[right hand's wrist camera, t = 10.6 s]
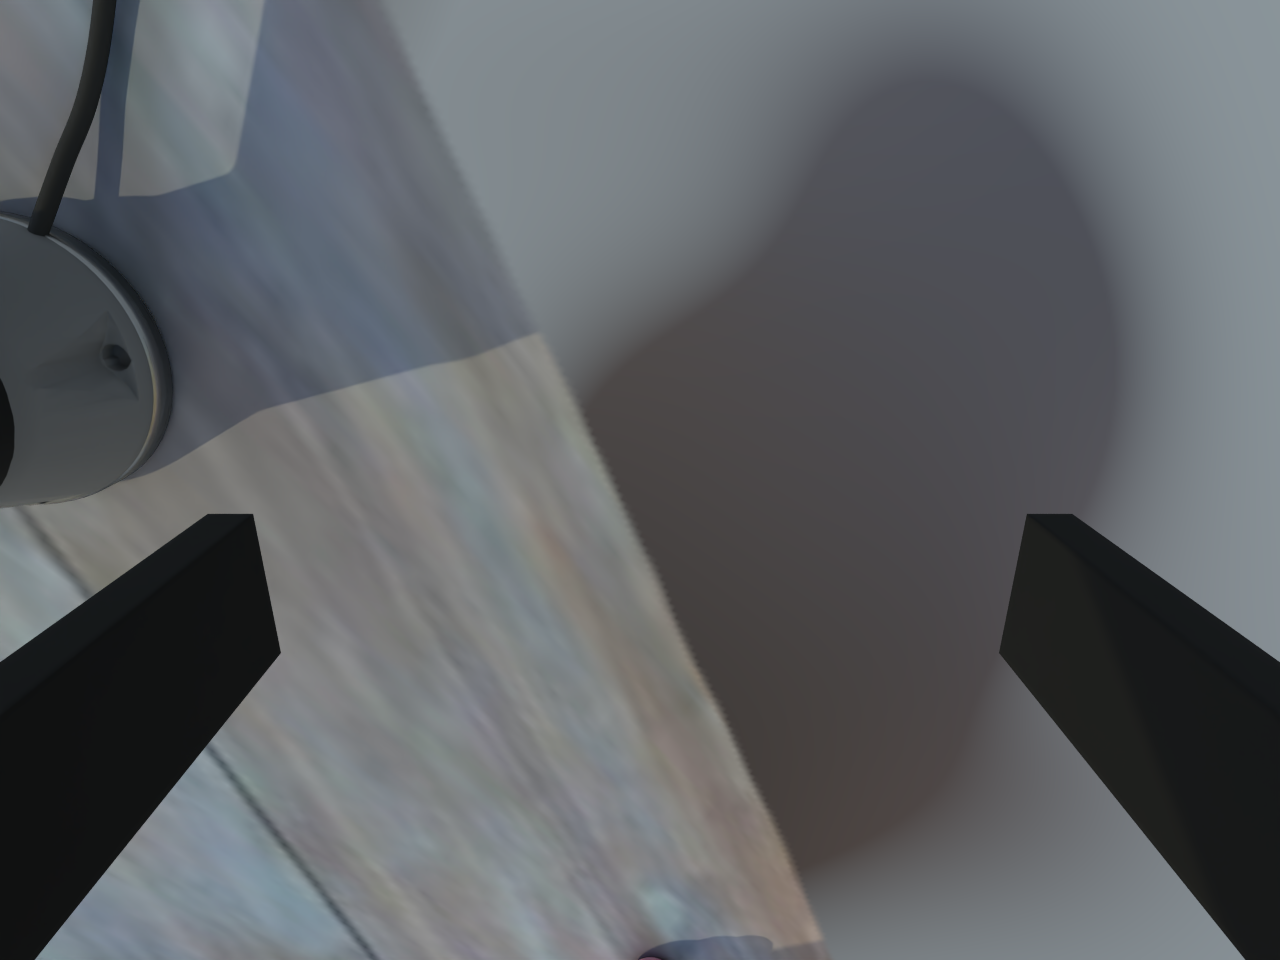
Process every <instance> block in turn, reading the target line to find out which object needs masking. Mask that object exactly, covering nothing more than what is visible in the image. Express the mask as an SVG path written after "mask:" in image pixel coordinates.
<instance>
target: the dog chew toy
mask: <svg viewBox="0 0 1280 960" xmlns="http://www.w3.org/2000/svg"><path fill="white" fill-rule="evenodd" d="M640 960H661V959H659V958H654V957H646V958H642V959H640Z"/></svg>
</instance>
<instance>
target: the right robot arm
mask: <svg viewBox="0 0 1280 960" xmlns="http://www.w3.org/2000/svg"><path fill="white" fill-rule="evenodd" d="M115 7H116V0H93V7H92V16H91V24H90V32H89V39H88V45H87V51H86V57H85V62H84V67H83V72H82V76H81V80H80V84H79V89H78V92H77V96H76V99H75V102H74V105H73V108H72V111H71V114H70V117H69V119H68V122H67V124H66V126H65V129H64V131H63V134H62V136H61V138H60V141H59V143H58V145H57V148H56V150H55V153H54V155H53V158H52V161H51V163H50V166H49V169H48V172H47V174H46V177H45V180H44V183H43V185H42V188H41V191H40V194H39V197H38V200H37V202H36V205H35V208H34V211H33V214H32V217H31V218H29V217H25V216H21V215H17V214H12V213H6V212H0V508H6V507H14V506H21V505H38V504H55V503H61V502H67V501H72V500H76V499H80V498H84V497H87V496H90V495H92V494H95V493H97V492H99V491H101V490H103V489H105V488H107V487H109V486H111V485H113V484H115V483H117V482H118V481H120V480H122V479H124V478H126V477H127V476H129V475H130V474H132V473H133V472H135V471H136V470H137V469H138V468H140V467H141V466H142V465H143V464H144V463H145V462H146V461H147V460H148V459H149V458H150V456H151V455H152V454H153V452H154V451H155V450H156V448H157V447H158V445H159V443H160V441H161V439H162V437H163V435H164V433H165V430H166V428H167V425H168V421H169V417H170V413H171V405H172V376H171V370H170V364H169V359H168V356H167V352H166V348H165V345H164V343H163V340H162V337H161V335H160V332H159V330H158V328H157V326H156V324H155V322H154V320H153V318H152V316H151V315H150V313H149V311H148V309H147V308H146V306H145V305H144V303H143V302H142V300H141V299H140V297H139V296H138V295H137V293H136V292H135V291H134V289H133V288H132V287H131V286H130V284H129V283H128V282H127V281H126V280H125V279H124V278H123V277H122V275H121V274H120V273H119V272H118V271H117V270H116V269H115V268H114V267H113V266H112V265H110V264H109V263H108V262H107V261H106V260H105V259H104V258H103V257H101V256H100V255H99V254H98V253H96V252H95V251H94V250H92V249H91V248H90V247H88V246H87V245H85V244H84V243H82V242H81V241H79V240H78V239H76V238H74V237H73V236H71V235H69V234H67V233H65V232H63V231H62V230H60V229H58V228H55V227H53V226H52V224H53V221H54V219H55V216H56V213H57V210H58V208H59V205H60V202H61V199H62V196H63V194H64V191H65V188H66V185H67V183H68V180H69V177H70V175H71V172H72V169H73V167H74V164H75V162H76V159H77V157H78V154H79V152H80V150H81V147H82V145H83V143H84V140H85V138H86V136H87V133H88V131H89V128H90V126H91V123H92V120H93V118H94V115H95V112H96V108H97V105H98V102H99V98H100V94H101V90H102V86H103V82H104V77H105V73H106V68H107V63H108V57H109V51H110V45H111V38H112V31H113V23H114V15H115ZM280 653H281V651H280V646H279V641H278V636H277V631H276V626H275V621H274V616H273V611H272V606H271V601H270V596H269V591H268V586H267V581H266V576H265V571H264V566H263V561H262V556H261V551H260V546H259V541H258V536H257V531H256V526H255V521H254V516H253V514H207V515H206V516H204V517H203V518H202V519H200V520H199V521H197V522H196V523H195V524H193V525H192V526H190V527H189V528H188V529H186V530H185V531H183V532H182V533H181V534H179V535H178V536H176V537H175V538H174V539H172V540H171V541H169V542H168V543H167V544H165V545H164V546H162V547H161V548H160V549H158V550H157V551H155V552H154V553H153V554H151V555H150V556H148V557H147V558H146V559H144V560H143V561H141V562H140V563H139V564H137V565H136V566H134V567H133V568H132V569H130V570H129V571H127V572H126V573H125V574H123V575H122V576H120V577H119V578H118V579H116V580H115V581H113V582H112V583H111V584H109V585H108V586H106V587H105V588H104V589H102V590H101V591H99V592H98V593H97V594H95V595H94V596H92V597H91V598H90V599H88V600H87V601H85V602H84V603H83V604H81V605H80V606H78V607H77V608H76V609H74V610H73V611H71V612H70V613H69V614H67V615H66V616H64V617H63V618H62V619H60V620H59V621H57V622H56V623H55V624H53V625H52V626H50V627H49V628H47V629H46V630H45V631H43V632H42V633H40V634H39V635H38V636H36V637H35V638H33V639H32V640H31V641H29V642H28V643H26V644H25V645H24V646H22V647H21V648H19V649H18V650H17V651H15V652H14V653H12V654H11V655H10V656H8V657H7V658H5V659H4V660H3V661H1V662H0V960H35V959H36V957H37V956H38V955H39V954H40V952H41V951H42V950H43V949H44V947H45V946H46V945H47V944H48V942H49V941H50V940H51V939H52V937H53V936H54V935H55V934H56V932H57V931H58V930H59V929H60V927H61V926H62V925H63V924H64V922H65V921H66V920H67V919H68V917H69V916H70V915H71V914H72V912H73V911H74V910H75V909H76V907H77V906H78V905H79V904H80V903H81V901H82V900H83V899H84V898H85V896H86V895H87V894H88V893H89V891H90V890H91V889H92V888H93V886H94V885H95V884H96V883H97V881H98V880H99V879H100V878H101V876H102V875H103V874H104V873H105V871H106V870H107V869H108V868H109V866H110V865H111V864H112V863H113V861H114V860H115V859H116V858H117V856H118V855H119V854H120V853H121V851H122V850H123V849H124V848H125V846H126V845H127V844H128V843H129V841H130V840H131V839H132V838H133V836H134V835H135V834H136V833H137V831H138V830H139V829H140V828H141V827H142V825H143V824H144V823H145V822H146V820H147V819H148V818H149V817H150V815H151V814H152V813H153V812H154V810H155V809H156V808H157V807H158V805H159V804H160V803H161V802H162V800H163V799H164V798H165V797H166V795H167V794H168V793H169V792H170V790H171V789H172V788H173V787H174V785H175V784H176V783H177V782H178V780H179V779H180V778H181V777H182V775H183V774H184V773H185V772H186V770H187V769H188V768H189V767H190V765H191V764H192V763H193V762H194V760H195V759H196V758H197V757H198V755H199V754H200V753H201V752H202V751H203V749H204V748H205V747H206V746H207V744H208V743H209V742H210V741H211V739H212V738H213V737H214V736H215V734H216V733H217V732H218V731H219V729H220V728H221V727H222V726H223V724H224V723H225V722H226V721H227V719H228V718H229V717H230V716H231V714H232V713H233V712H234V711H235V709H236V708H237V707H238V706H239V704H240V703H241V702H242V701H243V699H244V698H245V697H246V696H247V694H248V693H249V692H250V691H251V689H252V688H253V687H254V686H255V684H256V683H257V682H258V681H259V679H260V678H261V677H262V676H263V675H264V673H265V672H266V671H267V670H268V668H269V667H270V666H271V665H272V663H273V662H274V661H275V660H276V658H277V657H278V656H279V655H280ZM999 653H1000V655H1001V656H1002V657H1003V658H1004V660H1005V661H1006V662H1007V663H1008V665H1009V666H1010V667H1011V668H1012V670H1013V671H1014V672H1015V673H1016V675H1017V676H1018V677H1019V678H1020V679H1021V681H1022V682H1023V683H1024V684H1025V686H1026V687H1027V688H1028V689H1029V691H1030V692H1031V693H1032V694H1033V696H1034V697H1035V698H1036V699H1037V701H1038V702H1039V703H1040V704H1041V706H1042V707H1043V708H1044V709H1045V711H1046V712H1047V713H1048V714H1049V716H1050V717H1051V718H1052V719H1053V721H1054V722H1055V723H1056V724H1057V725H1058V727H1059V728H1060V729H1061V731H1062V732H1063V733H1064V734H1065V736H1066V737H1067V738H1068V739H1069V741H1070V742H1071V743H1072V744H1073V745H1074V747H1075V748H1076V749H1077V751H1078V752H1079V753H1080V754H1081V755H1082V757H1083V758H1084V759H1085V760H1086V762H1087V763H1088V764H1089V765H1090V767H1091V768H1092V769H1093V770H1094V772H1095V773H1096V774H1097V775H1098V777H1099V778H1100V779H1101V780H1102V782H1103V783H1104V784H1105V785H1106V787H1107V788H1108V789H1109V790H1110V792H1111V793H1112V794H1113V795H1114V797H1115V798H1116V799H1117V800H1118V802H1119V803H1120V804H1121V805H1122V807H1123V808H1124V809H1125V810H1126V812H1127V813H1128V814H1129V815H1130V817H1131V818H1132V819H1133V820H1134V821H1135V823H1136V824H1137V825H1138V827H1139V828H1140V829H1141V830H1142V831H1143V833H1144V834H1145V835H1146V836H1147V838H1148V839H1149V840H1150V841H1151V843H1152V844H1153V845H1154V846H1155V848H1156V849H1157V850H1158V851H1159V853H1160V854H1161V855H1162V856H1163V858H1164V859H1165V860H1166V861H1167V863H1168V864H1169V865H1170V866H1171V868H1172V869H1173V870H1174V871H1175V873H1176V874H1177V875H1178V876H1179V878H1180V879H1181V880H1182V881H1183V883H1184V884H1185V885H1186V886H1187V888H1188V889H1189V890H1190V891H1191V893H1192V894H1193V895H1194V896H1195V897H1196V899H1197V900H1198V901H1199V903H1200V904H1201V905H1202V906H1203V907H1204V909H1205V910H1206V911H1207V912H1208V914H1209V915H1210V916H1211V917H1212V919H1213V920H1214V921H1215V922H1216V924H1217V925H1218V926H1219V927H1220V929H1221V930H1222V931H1223V932H1224V934H1225V935H1226V936H1227V937H1228V939H1229V940H1230V941H1231V942H1232V944H1233V945H1234V946H1235V947H1236V949H1237V950H1238V951H1239V952H1240V954H1241V955H1242V956H1243V957H1244V959H1245V960H1280V662H1279V661H1277V660H1276V659H1275V658H1273V657H1272V656H1270V655H1269V654H1267V653H1266V652H1265V651H1263V650H1262V649H1261V648H1259V647H1258V646H1256V645H1255V644H1254V643H1252V642H1251V641H1249V640H1248V639H1246V638H1245V637H1244V636H1242V635H1241V634H1240V633H1238V632H1237V631H1235V630H1234V629H1232V628H1231V627H1230V626H1228V625H1227V624H1225V623H1224V622H1223V621H1221V620H1220V619H1218V618H1217V617H1216V616H1214V615H1213V614H1211V613H1210V612H1209V611H1207V610H1206V609H1204V608H1203V607H1202V606H1200V605H1199V604H1197V603H1196V602H1195V601H1193V600H1192V599H1190V598H1189V597H1188V596H1186V595H1185V594H1183V593H1182V592H1181V591H1179V590H1178V589H1176V588H1175V587H1174V586H1172V585H1171V584H1169V583H1168V582H1167V581H1165V580H1164V579H1162V578H1161V577H1160V576H1158V575H1157V574H1155V573H1154V572H1153V571H1151V570H1150V569H1148V568H1147V567H1146V566H1144V565H1143V564H1141V563H1140V562H1139V561H1137V560H1136V559H1134V558H1133V557H1132V556H1130V555H1129V554H1127V553H1126V552H1125V551H1123V550H1122V549H1120V548H1119V547H1118V546H1116V545H1115V544H1113V543H1112V542H1111V541H1109V540H1108V539H1106V538H1105V537H1104V536H1102V535H1101V534H1099V533H1098V532H1097V531H1095V530H1094V529H1092V528H1091V527H1090V526H1088V525H1087V524H1085V523H1084V522H1083V521H1081V520H1080V519H1078V518H1077V517H1076V516H1074V515H1073V514H1027V517H1026V521H1025V526H1024V531H1023V536H1022V542H1021V546H1020V551H1019V556H1018V561H1017V567H1016V571H1015V576H1014V581H1013V586H1012V591H1011V596H1010V601H1009V606H1008V611H1007V616H1006V622H1005V626H1004V631H1003V636H1002V641H1001V646H1000V651H999Z"/></svg>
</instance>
